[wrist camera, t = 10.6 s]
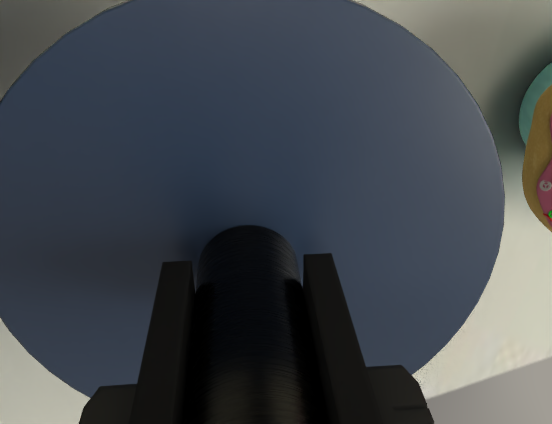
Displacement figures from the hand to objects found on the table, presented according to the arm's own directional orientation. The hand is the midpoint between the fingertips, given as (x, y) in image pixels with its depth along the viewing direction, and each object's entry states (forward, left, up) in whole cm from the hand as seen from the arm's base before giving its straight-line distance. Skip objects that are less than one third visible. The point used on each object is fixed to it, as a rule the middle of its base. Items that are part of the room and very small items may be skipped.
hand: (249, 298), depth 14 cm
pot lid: (0, 0, -2) cm, 2 cm away
